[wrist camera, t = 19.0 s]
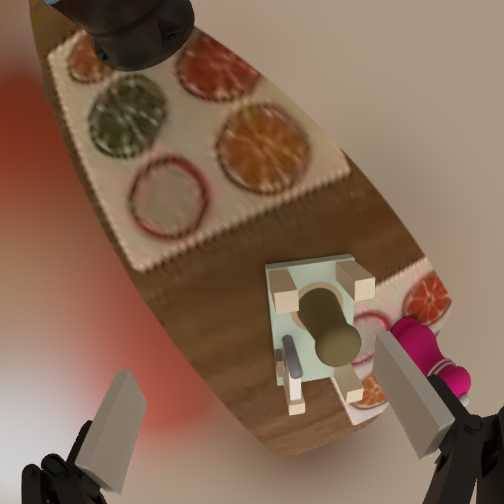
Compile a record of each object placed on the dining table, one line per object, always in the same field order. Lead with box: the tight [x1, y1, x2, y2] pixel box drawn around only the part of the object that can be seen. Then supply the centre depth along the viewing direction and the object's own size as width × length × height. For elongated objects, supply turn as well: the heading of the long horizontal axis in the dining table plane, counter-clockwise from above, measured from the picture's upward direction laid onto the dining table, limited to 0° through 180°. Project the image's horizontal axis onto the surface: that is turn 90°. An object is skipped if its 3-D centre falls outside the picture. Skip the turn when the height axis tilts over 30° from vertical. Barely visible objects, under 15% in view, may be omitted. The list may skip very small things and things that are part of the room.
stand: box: [265, 254, 375, 403], centre depth 35 cm, size 20×12×10 cm, turn 7°
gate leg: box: [283, 348, 305, 415], centre depth 36 cm, size 8×2×7 cm, turn 7°
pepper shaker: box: [297, 288, 361, 367], centre depth 32 cm, size 6×6×11 cm
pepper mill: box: [390, 317, 471, 407], centre depth 32 cm, size 7×7×20 cm
